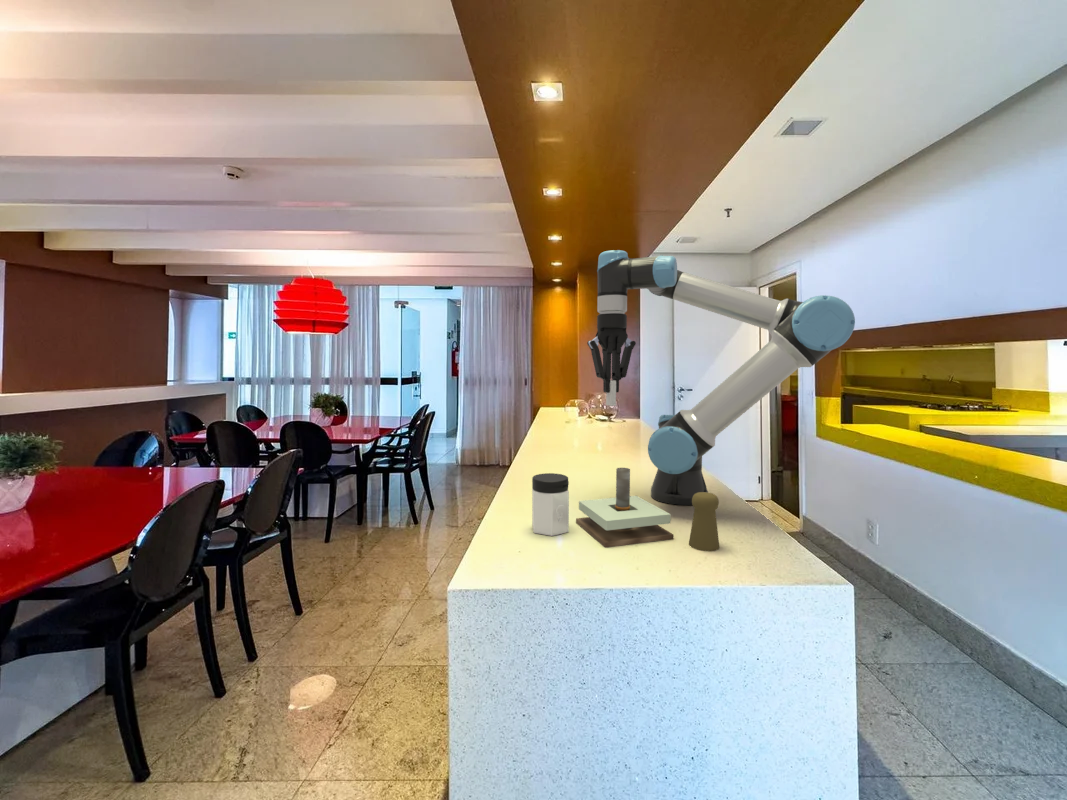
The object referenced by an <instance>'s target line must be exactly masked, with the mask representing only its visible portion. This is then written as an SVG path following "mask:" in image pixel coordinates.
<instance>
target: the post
mask: <svg viewBox="0 0 1067 800" xmlns="http://www.w3.org/2000/svg"><path fill="white" fill-rule="evenodd" d="M615 470H616V471H615V472H616V474H615V475H616V477H615V479H616V481H615V498H616V505H615V508H616V511H617V512H618V511H628V510H630V496H631V468H628V467H617V468H616V469H615ZM575 523H576V524H577V525H578V526H579V527H581V529H583V530H584V531H585V532H586V533H587V534H588V535H590V536H591V537H592V538H593V539H594V540H596V541H597V542H598V543H599V544H600V545H602V547H604V548H610V547H619V546H626V545H627V546H628V545H636V544H637V545H638V544H644V543H645V544H646V543H651V542H661V541H667V540H668V541H669V540H674V534H673V533H672V532H670V531H669V530H667V529H666V528H664V527H662V526H661V525H651V526H642V527H634V528H625V529H616V530H607V531H606V530H605V529H604V528H602V527H601V526H600V525H599V524H597V523H596V522H595V521H593V520H592V519H591V518H590V517H588V516H586V517H577V518H575Z"/></svg>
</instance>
